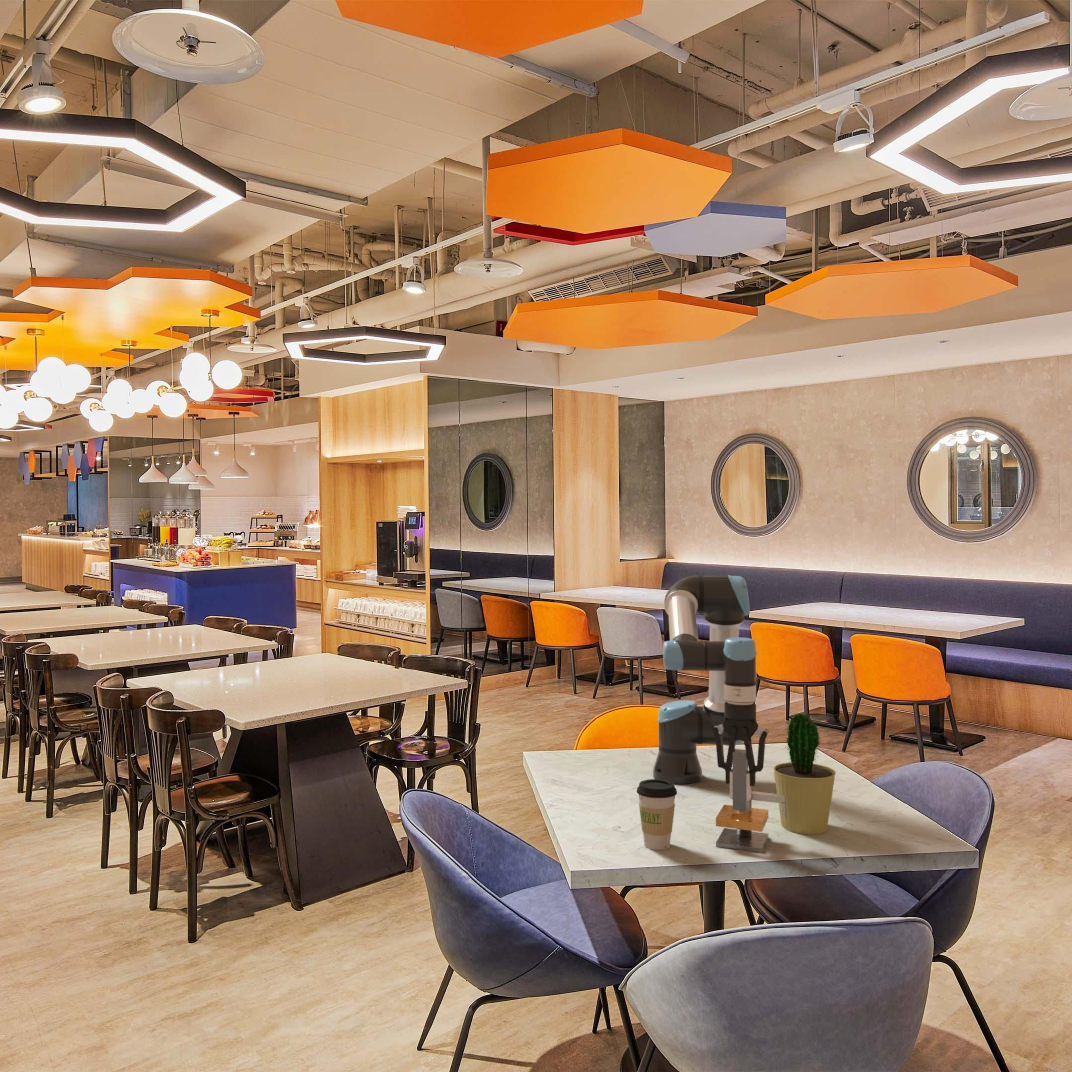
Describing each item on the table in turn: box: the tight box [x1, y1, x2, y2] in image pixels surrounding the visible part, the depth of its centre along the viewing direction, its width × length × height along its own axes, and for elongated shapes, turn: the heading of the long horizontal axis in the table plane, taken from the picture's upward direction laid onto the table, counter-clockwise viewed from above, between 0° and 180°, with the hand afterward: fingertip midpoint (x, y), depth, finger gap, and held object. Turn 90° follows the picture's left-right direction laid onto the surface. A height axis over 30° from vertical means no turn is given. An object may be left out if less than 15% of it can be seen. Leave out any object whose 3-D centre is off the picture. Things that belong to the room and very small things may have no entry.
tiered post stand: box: [715, 788, 786, 854], centre depth 212 cm, size 16×11×13 cm
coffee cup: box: [636, 778, 678, 851], centre depth 211 cm, size 10×10×15 cm
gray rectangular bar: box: [732, 748, 749, 811], centre depth 210 cm, size 3×3×14 cm
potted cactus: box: [773, 712, 836, 835], centre depth 224 cm, size 15×15×30 cm
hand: (740, 797), depth 210 cm, fingers closed on gray rectangular bar, 3 cm apart
